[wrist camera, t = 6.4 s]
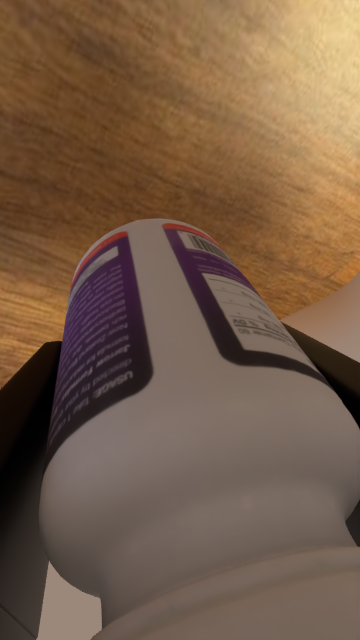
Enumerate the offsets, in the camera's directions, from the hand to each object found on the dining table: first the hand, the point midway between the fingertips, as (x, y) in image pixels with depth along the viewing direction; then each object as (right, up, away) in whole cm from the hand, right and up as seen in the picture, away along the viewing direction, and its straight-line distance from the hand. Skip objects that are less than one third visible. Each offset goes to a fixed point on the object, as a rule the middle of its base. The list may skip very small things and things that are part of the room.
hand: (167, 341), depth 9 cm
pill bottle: (-1, +2, +2) cm, 3 cm away
